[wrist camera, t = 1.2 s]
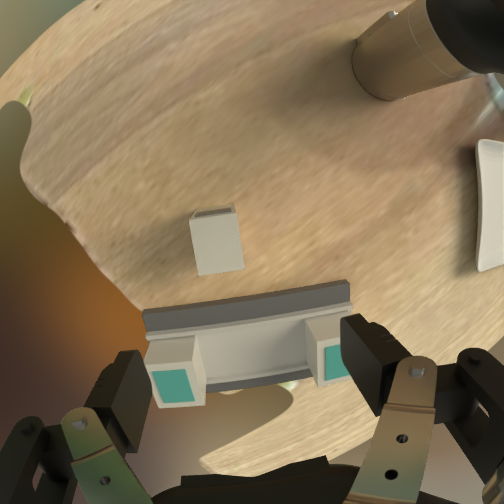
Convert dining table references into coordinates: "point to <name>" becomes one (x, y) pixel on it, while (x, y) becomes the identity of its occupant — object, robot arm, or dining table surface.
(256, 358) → the board
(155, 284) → the dining table surface
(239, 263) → the loose module
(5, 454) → the robot arm
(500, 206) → the salad plate
